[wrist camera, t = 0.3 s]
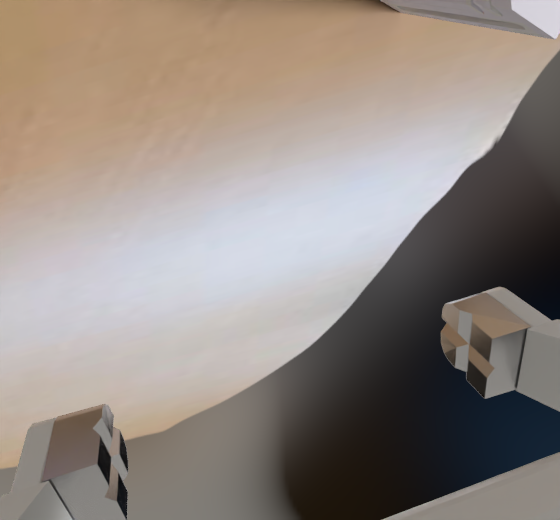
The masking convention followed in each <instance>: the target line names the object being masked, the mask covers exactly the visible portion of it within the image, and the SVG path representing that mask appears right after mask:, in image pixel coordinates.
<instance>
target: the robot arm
mask: <svg viewBox="0 0 560 520" xmlns="http://www.w3.org/2000/svg"><path fill="white" fill-rule="evenodd" d="M442 318H443V319H444V320H445V321H446V322H447V324H446V325H445V327H444V328H443V330H442V331H441V344H442V347H443V351H444V353H445V355H446V357H447V358H448V360H449V361H450V362H451V363H452V365H453V366H454V367H455V368H458V369H460V370H463V371H466V373H467V374H466V377H467V381H468V382H469V383H470V384H471V385H472V386H473V387H474V388H475V389H476V390H477V391H478V392H479V393H480V394H481V396H482V397H483V398H484V399H486V398H489V397H492V396H495V395H499V394H502V393H505V392H508V391H512V390H515V389H517V391H518V392H520V393H522V394H524V395H526V396H528V397H530V398H533V399H535V400H537V401H539V402H541V403H543V404H545V405H548V406H549V407H551V408H554V409H556V410H558V411H560V320H558V319H557V320H554V321H551V320H550V319H548V318H547V317H545V316H544V315H543V314H541V313H540V312H538V311H537V310H536V309H534V308H533V307H531V306H530V305H528V304H527V303H526V302H524V301H523V300H521V299H520V298H519V297H517V296H516V295H514V294H513V293H511V292H510V291H508V290H507V289H506V288H502V287H497V288H494V289H491V290H487V291H485V292H481V293H480V294H476V295H473V296H469V297H466V298H463V299H459V300H456V301H453V302H449V303H446V304H445V305H444V307H443V310H442ZM113 418H114V416H113V414H112V412H111V410H110V408H109V406H108V405H106V404H103V405H99V406H95V407H92V408H88V409H84V410H80V411H77V412H73V413H69V414H66V415H62V416H58V417H57V418H53V419H49V420H45V421H42V422H38V423H34V424H32V425H31V427H30V428H29V429H28V431H27V435H26V438H25V442H24V446H23V449H22V453H21V457H20V460H19V464H18V467H17V471H16V475H15V478H14V482H13V485H12V489H11V493H8V494H5V495H2V496H1V498H0V520H127V500H128V499H127V498H128V492H127V489H126V487H125V485H124V483H123V480H124V479H125V477H126V476H127V474H128V458H127V449H126V445H125V442H124V438H123V436H122V434H121V431H120V430H119V429H117V428H114V427H113ZM383 520H560V452H559V453H556V454H554V455H551V456H549V457H546V458H543V459H540V460H538V461H535V462H533V463H530V464H527V465H525V466H522V467H520V468H517V469H514V470H512V471H509V472H506V473H504V474H501V475H498V476H496V477H493V478H491V479H488V480H485V481H483V482H480V483H477V484H475V485H472V486H470V487H467V488H464V489H462V490H459V491H457V492H454V493H451V494H449V495H446V496H443V497H441V498H438V499H435V500H433V501H430V502H428V503H425V504H422V505H420V506H417V507H414V508H412V509H409V510H407V511H404V512H401V513H399V514H396V515H393V516H391V517H388V518H385V519H383Z"/></svg>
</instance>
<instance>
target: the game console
mask: <svg viewBox="0 0 560 520" xmlns="http://www.w3.org/2000/svg"><path fill="white" fill-rule="evenodd" d="M380 1H382V2H384V3H385V4H387V5H389V6H390V7H392V8H394V9H396V10H397V11H399V12H401V13H405V14H411V15H417V16H422V17H428V18H434V19H440V20H446V21H451V22H457V23H463V24H469V25H474V26H480V27H486V28H492V29H498V30H503V31H509V32H515V33H521V34H527V35H532V36H538V37H544V38H550V39H556V38H557V36H558V35H559V33H560V0H380Z"/></svg>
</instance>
